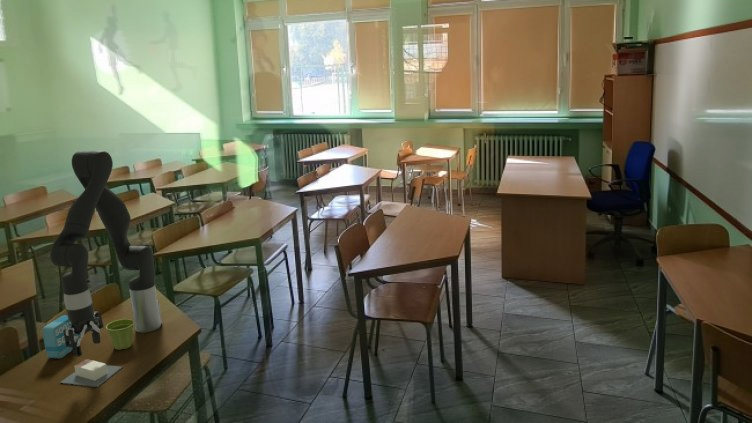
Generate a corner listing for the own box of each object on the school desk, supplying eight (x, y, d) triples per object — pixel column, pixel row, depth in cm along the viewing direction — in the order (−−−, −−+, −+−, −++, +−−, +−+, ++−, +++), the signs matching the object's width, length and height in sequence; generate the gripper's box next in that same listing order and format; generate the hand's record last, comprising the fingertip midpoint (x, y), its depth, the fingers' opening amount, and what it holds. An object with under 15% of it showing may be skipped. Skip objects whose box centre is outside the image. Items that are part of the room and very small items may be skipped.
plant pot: (122, 338, 208) (119, 317, 206) (143, 341, 205) (139, 320, 203) (103, 350, 200) (99, 328, 198) (124, 353, 197) (120, 331, 195)
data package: (58, 360, 194) (52, 328, 191) (47, 359, 195) (40, 328, 192) (81, 343, 206) (76, 314, 203) (70, 343, 206) (65, 313, 203)
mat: (86, 364, 190) (86, 363, 190) (122, 367, 187) (122, 366, 187) (60, 383, 179) (60, 382, 179) (97, 387, 176) (97, 386, 176)
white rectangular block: (107, 373, 183) (105, 363, 182) (94, 380, 179) (93, 371, 178) (88, 368, 187) (87, 358, 186) (76, 375, 183) (74, 365, 182)
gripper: (72, 314, 169) (82, 361, 174) (104, 295, 183) (112, 339, 187) (51, 312, 171) (61, 359, 175) (84, 294, 184) (93, 338, 189)
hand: (88, 349), depth 181 cm, fingers open, 8 cm apart
